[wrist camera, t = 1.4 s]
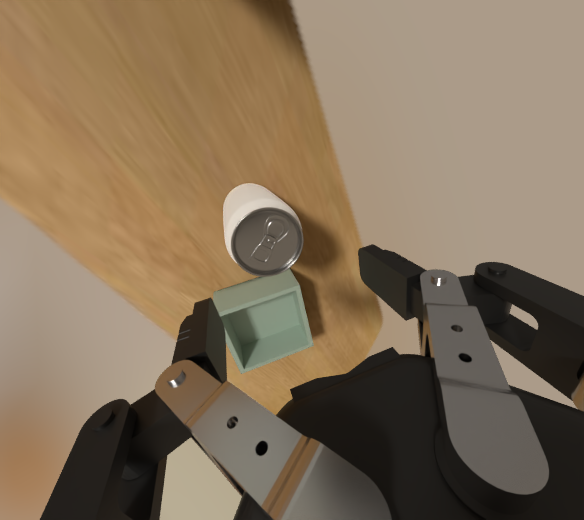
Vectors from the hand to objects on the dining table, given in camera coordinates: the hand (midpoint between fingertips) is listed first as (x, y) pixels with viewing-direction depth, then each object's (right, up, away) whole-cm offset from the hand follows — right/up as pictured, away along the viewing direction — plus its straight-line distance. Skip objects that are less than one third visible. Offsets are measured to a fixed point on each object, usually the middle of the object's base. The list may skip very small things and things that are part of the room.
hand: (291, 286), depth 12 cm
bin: (-4, -6, +22) cm, 24 cm away
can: (-5, +7, +16) cm, 19 cm away
